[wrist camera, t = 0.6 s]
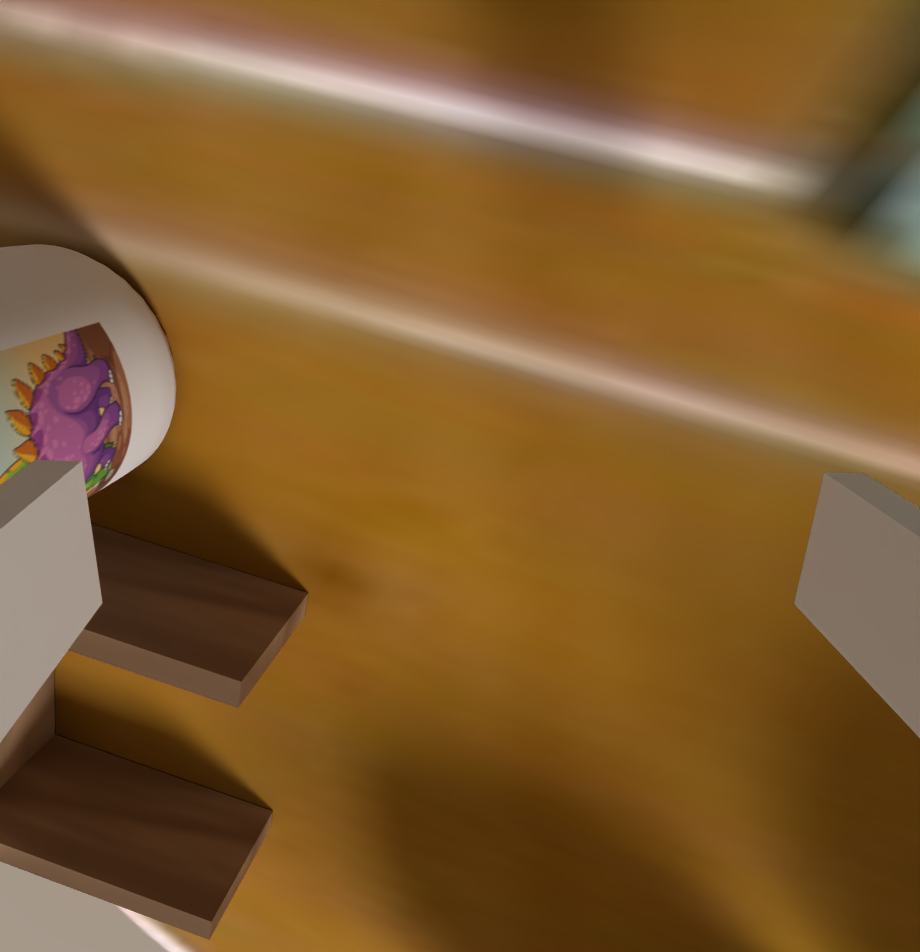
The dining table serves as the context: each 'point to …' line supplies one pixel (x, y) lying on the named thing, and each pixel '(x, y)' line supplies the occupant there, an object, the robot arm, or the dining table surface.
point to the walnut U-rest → (133, 785)
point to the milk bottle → (78, 366)
